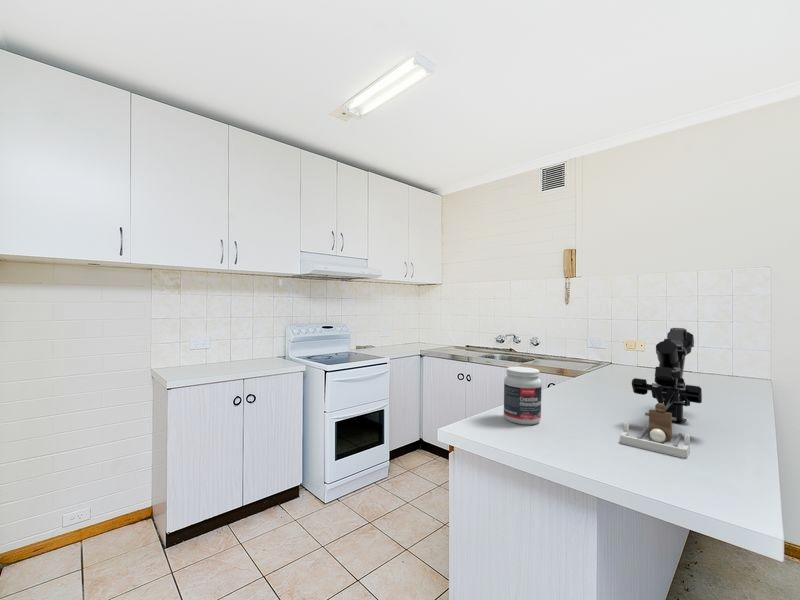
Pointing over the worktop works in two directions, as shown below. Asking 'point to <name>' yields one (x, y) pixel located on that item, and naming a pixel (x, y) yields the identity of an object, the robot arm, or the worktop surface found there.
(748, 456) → the worktop surface
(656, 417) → the figure
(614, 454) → the worktop surface
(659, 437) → the ball
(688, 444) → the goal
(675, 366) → the robot arm
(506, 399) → the supplement tub
